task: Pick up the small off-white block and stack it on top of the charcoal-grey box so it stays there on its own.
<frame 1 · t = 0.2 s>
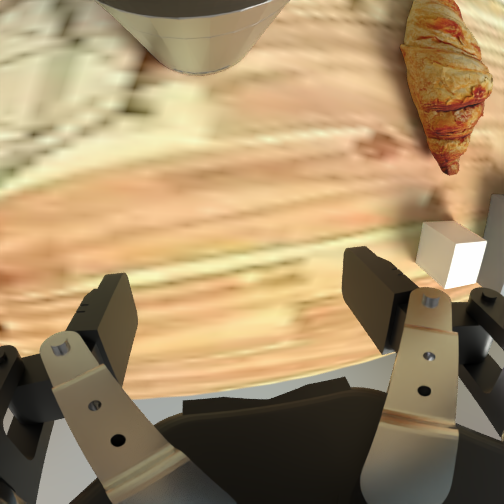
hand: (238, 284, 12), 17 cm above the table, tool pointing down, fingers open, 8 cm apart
croissant: (434, 71, 25), on the table
white block: (435, 241, 33), on the table
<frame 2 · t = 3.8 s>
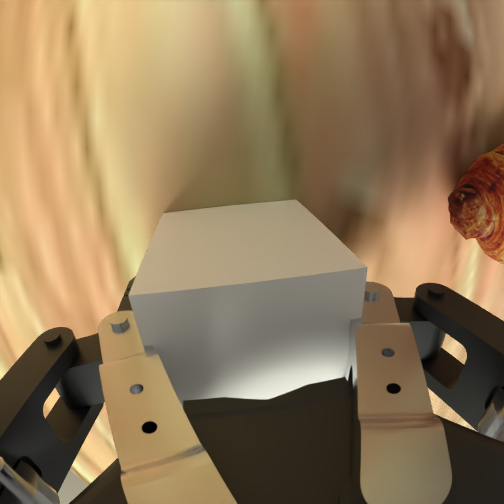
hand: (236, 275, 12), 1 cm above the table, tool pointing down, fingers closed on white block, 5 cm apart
white block: (235, 266, 13), on the table, touching gripper
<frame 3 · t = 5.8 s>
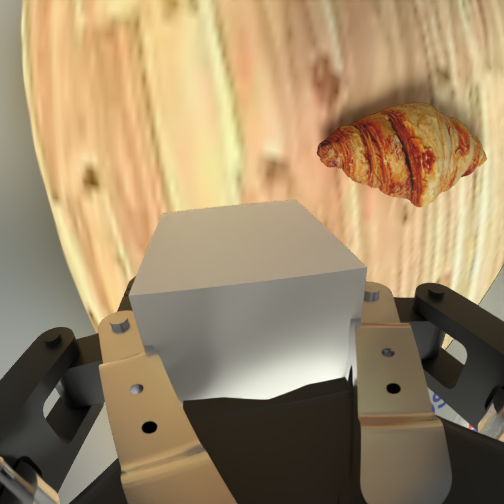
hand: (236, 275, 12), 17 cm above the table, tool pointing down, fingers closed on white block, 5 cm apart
soda pack: (461, 353, 44), on the table
croissant: (404, 151, 29), on the table
white block: (235, 266, 13), point 16 cm above the table, touching gripper
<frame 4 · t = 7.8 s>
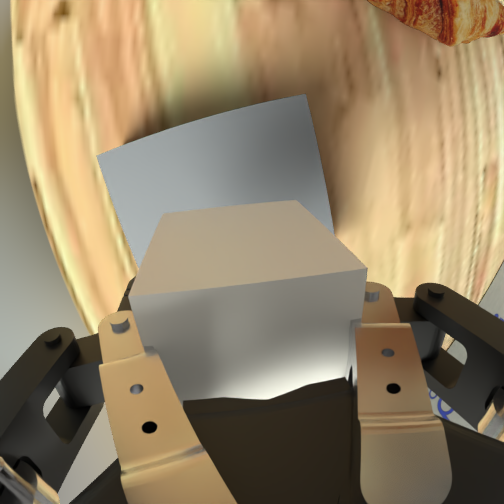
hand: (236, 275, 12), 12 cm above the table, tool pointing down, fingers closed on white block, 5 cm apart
grey box: (223, 197, 24), on the table
croissant: (425, 1, 19), on the table
white block: (235, 267, 13), point 12 cm above the table, touching gripper
when the fingers open (8 cm above the table, at t = 9.4 s): white block drops 2 cm, resting on grey box.
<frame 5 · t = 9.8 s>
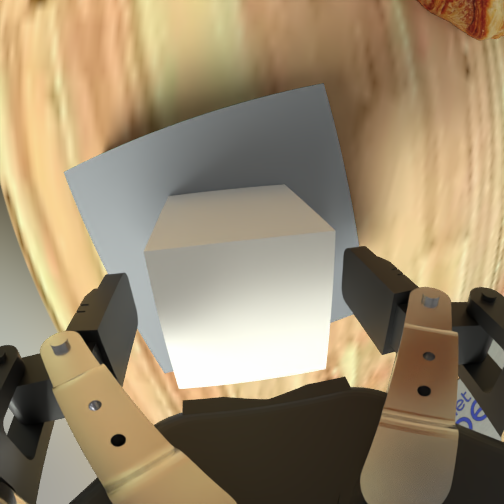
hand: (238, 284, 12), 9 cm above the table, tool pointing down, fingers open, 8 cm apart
grey box: (224, 212, 20), on the table, touching white block
white block: (231, 243, 15), point 6 cm above the table, touching grey box
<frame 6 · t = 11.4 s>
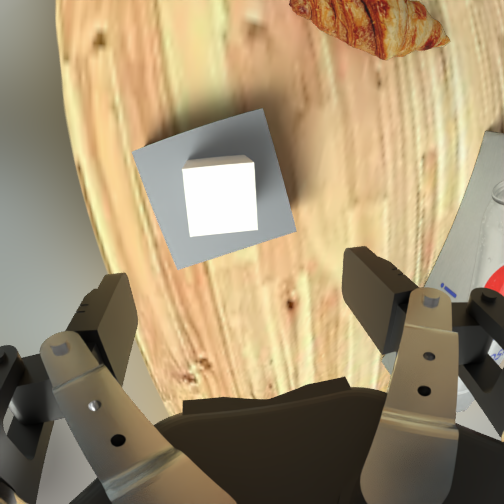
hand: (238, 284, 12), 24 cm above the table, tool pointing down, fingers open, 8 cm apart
grey box: (215, 180, 34), on the table, touching white block
soda pack: (461, 260, 43), on the table
croissant: (371, 25, 29), on the table
white block: (218, 184, 28), point 6 cm above the table, touching grey box
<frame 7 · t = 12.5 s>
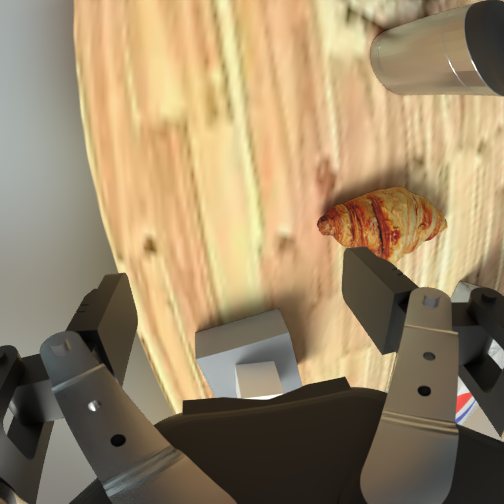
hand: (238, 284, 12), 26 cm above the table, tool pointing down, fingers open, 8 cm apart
grey box: (247, 350, 46), on the table
soda pack: (425, 368, 57), on the table
croissant: (382, 220, 42), on the table
white block: (254, 376, 41), point 6 cm above the table
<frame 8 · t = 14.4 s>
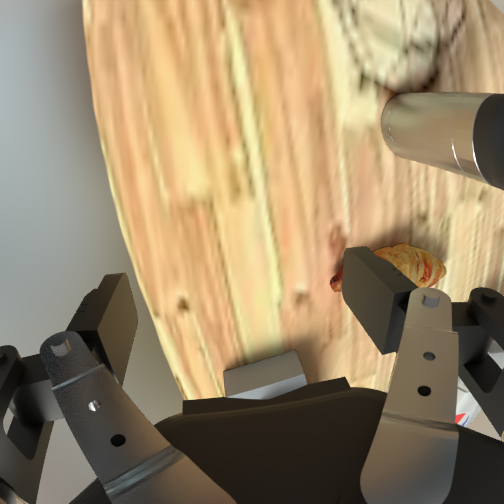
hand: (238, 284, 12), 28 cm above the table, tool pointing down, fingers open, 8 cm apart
grey box: (268, 383, 52), on the table
soda pack: (426, 387, 61), on the table
croissant: (387, 271, 47), on the table
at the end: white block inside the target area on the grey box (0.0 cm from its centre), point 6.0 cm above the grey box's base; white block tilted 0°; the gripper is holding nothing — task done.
